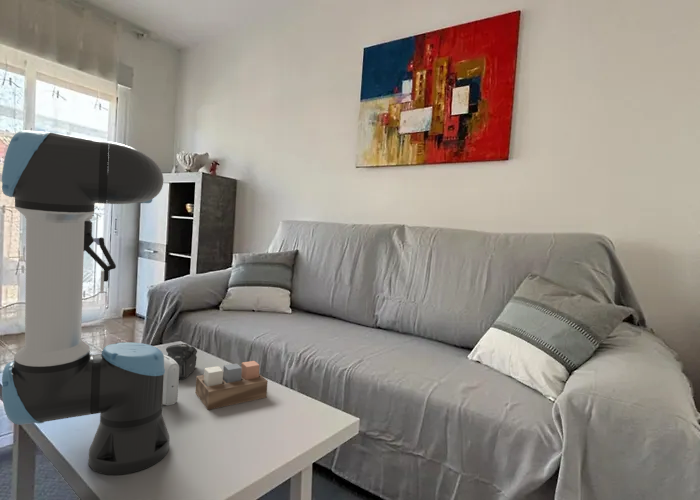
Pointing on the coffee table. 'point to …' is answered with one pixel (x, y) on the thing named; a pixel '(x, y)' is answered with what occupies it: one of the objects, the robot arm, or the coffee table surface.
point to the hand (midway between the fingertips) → (74, 293)
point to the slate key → (232, 373)
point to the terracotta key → (250, 370)
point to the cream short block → (213, 376)
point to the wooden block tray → (230, 391)
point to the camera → (183, 358)
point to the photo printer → (170, 381)
